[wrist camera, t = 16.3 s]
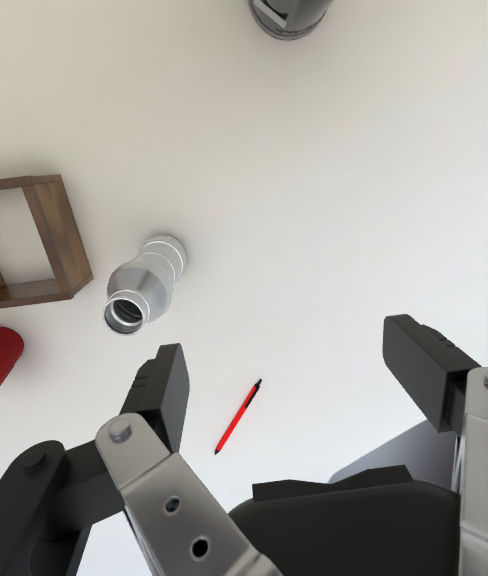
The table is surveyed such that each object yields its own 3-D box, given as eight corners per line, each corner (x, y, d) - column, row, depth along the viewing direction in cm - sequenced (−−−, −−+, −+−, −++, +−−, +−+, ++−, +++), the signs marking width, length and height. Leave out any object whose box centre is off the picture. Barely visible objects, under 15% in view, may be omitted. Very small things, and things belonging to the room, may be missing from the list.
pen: (263, 379, 55) (263, 383, 54) (217, 453, 61) (216, 458, 60) (258, 377, 54) (259, 381, 53) (212, 452, 60) (212, 457, 59)
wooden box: (-44, 187, 41) (-99, 192, 34) (60, 173, 41) (26, 175, 34) (2, 291, 47) (-37, 313, 40) (94, 279, 47) (71, 299, 40)
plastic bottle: (149, 278, 47) (97, 354, 28) (139, 233, 44) (74, 284, 26) (192, 274, 47) (168, 347, 28) (185, 229, 44) (153, 276, 26)
